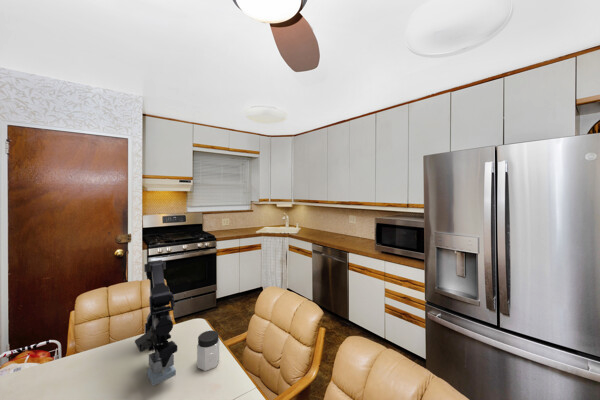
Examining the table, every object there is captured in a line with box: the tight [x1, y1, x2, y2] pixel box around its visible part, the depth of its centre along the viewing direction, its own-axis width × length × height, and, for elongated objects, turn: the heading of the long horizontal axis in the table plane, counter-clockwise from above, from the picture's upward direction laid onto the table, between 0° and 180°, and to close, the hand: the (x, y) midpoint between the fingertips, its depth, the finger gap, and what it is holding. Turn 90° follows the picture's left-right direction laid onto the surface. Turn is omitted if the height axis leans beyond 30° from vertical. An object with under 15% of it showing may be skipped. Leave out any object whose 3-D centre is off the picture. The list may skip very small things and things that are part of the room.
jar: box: [196, 330, 220, 372], centre depth 103 cm, size 9×8×12 cm
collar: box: [148, 351, 175, 374], centre depth 97 cm, size 7×7×4 cm
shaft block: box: [146, 358, 177, 386], centre depth 97 cm, size 8×8×6 cm
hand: (161, 362), depth 97 cm, fingers closed on collar, 7 cm apart
